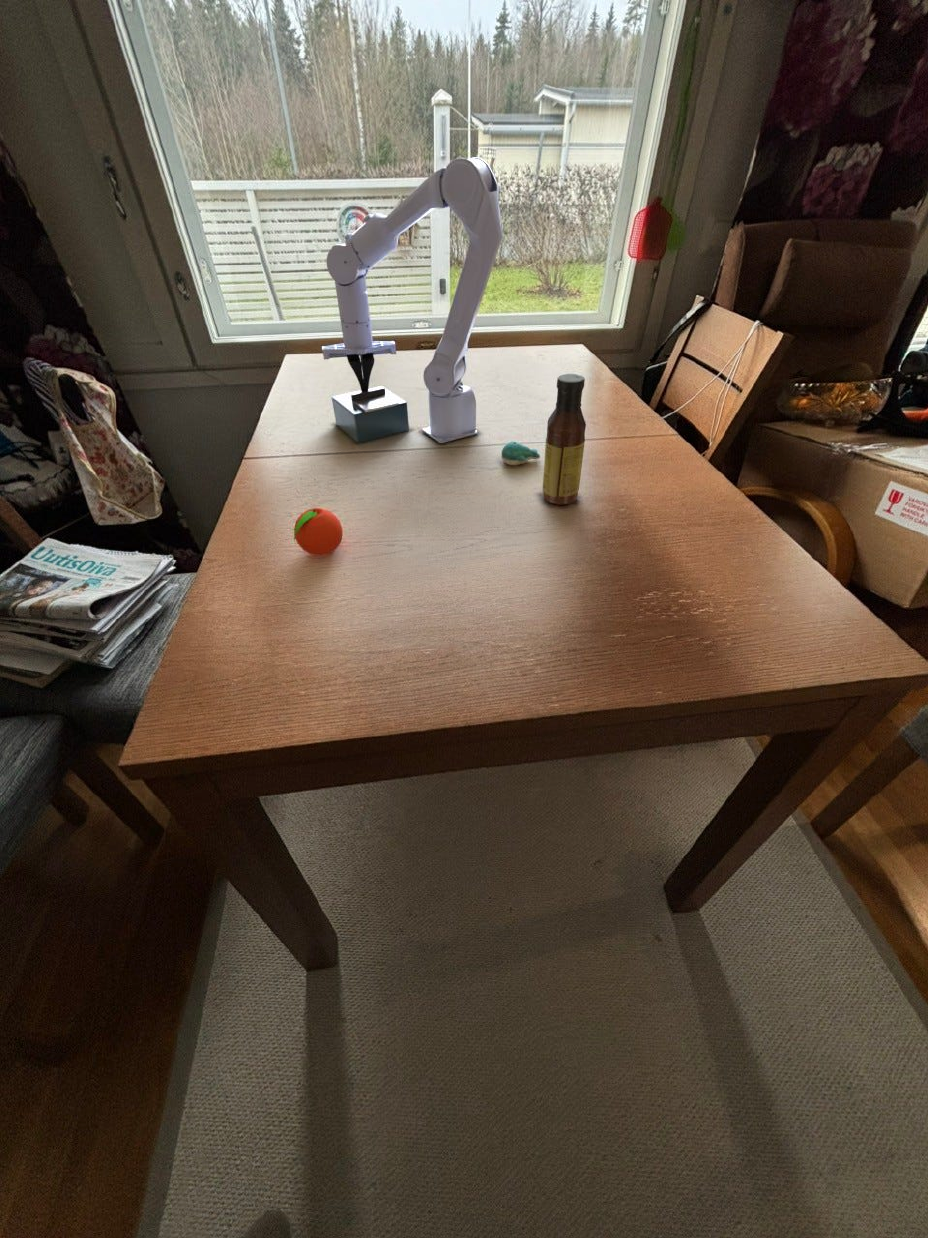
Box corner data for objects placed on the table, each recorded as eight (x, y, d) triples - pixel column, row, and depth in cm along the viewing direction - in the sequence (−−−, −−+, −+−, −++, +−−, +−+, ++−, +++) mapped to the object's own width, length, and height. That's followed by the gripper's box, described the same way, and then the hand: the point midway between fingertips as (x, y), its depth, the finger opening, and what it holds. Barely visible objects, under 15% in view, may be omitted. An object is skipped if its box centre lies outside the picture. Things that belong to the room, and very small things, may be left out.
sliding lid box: (384, 412, 117) (381, 385, 113) (409, 430, 109) (407, 402, 105) (336, 424, 112) (331, 396, 108) (358, 443, 105) (354, 414, 101)
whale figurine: (498, 455, 100) (499, 436, 98) (534, 453, 101) (536, 435, 98) (504, 469, 96) (505, 449, 93) (541, 466, 97) (543, 447, 94)
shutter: (384, 395, 108) (383, 386, 107) (398, 404, 104) (398, 396, 103) (351, 402, 105) (350, 393, 104) (365, 412, 101) (364, 403, 100)
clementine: (319, 574, 72) (308, 532, 67) (284, 559, 75) (272, 517, 70) (355, 547, 77) (348, 506, 72) (322, 533, 80) (313, 493, 75)
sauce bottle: (579, 492, 89) (600, 373, 76) (573, 509, 85) (593, 386, 71) (543, 486, 91) (557, 368, 77) (535, 503, 87) (548, 381, 73)
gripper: (318, 327, 93) (331, 402, 103) (395, 322, 96) (401, 395, 105) (316, 318, 98) (329, 390, 108) (390, 313, 101) (396, 384, 110)
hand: (364, 392), depth 107 cm, fingers closed
